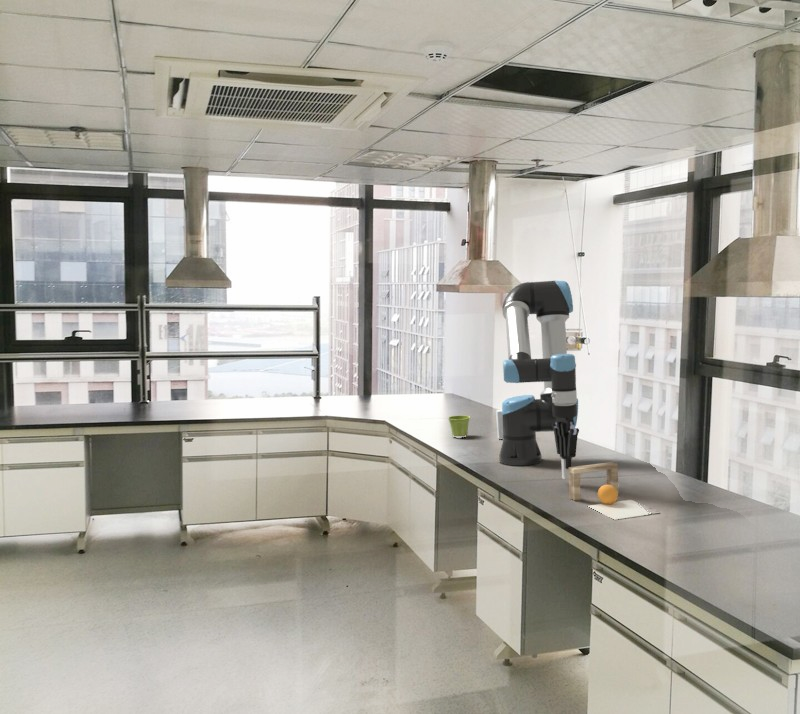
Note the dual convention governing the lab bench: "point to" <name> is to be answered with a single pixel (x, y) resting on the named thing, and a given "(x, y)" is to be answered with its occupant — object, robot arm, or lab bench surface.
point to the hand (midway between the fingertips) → (567, 478)
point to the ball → (607, 494)
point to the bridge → (575, 471)
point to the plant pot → (459, 425)
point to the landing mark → (621, 509)
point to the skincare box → (499, 424)
